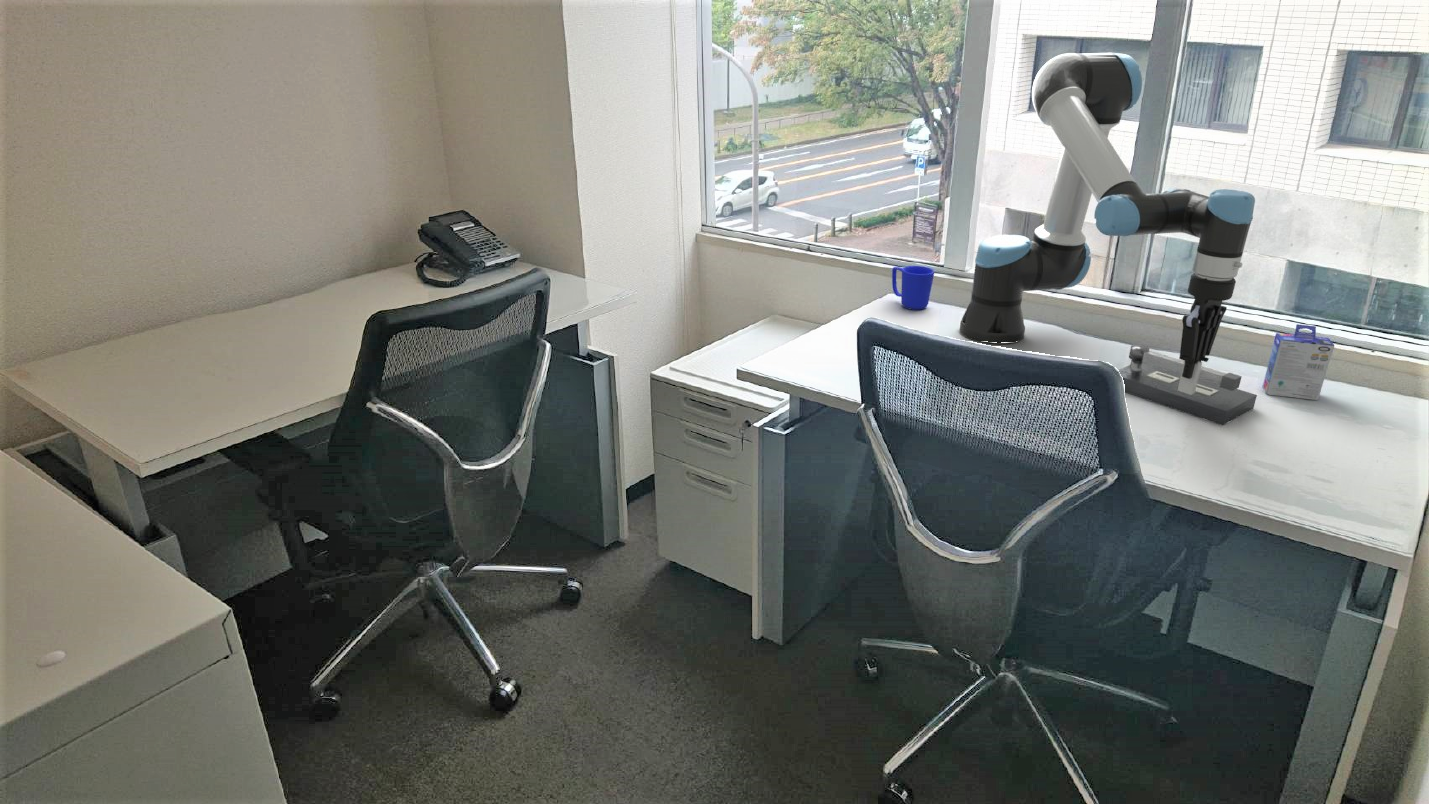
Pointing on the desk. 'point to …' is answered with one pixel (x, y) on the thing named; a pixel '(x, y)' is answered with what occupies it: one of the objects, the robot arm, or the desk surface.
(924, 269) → the mug
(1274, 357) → the ink cartridge box
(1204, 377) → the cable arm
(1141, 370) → the slab
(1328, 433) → the desk surface
